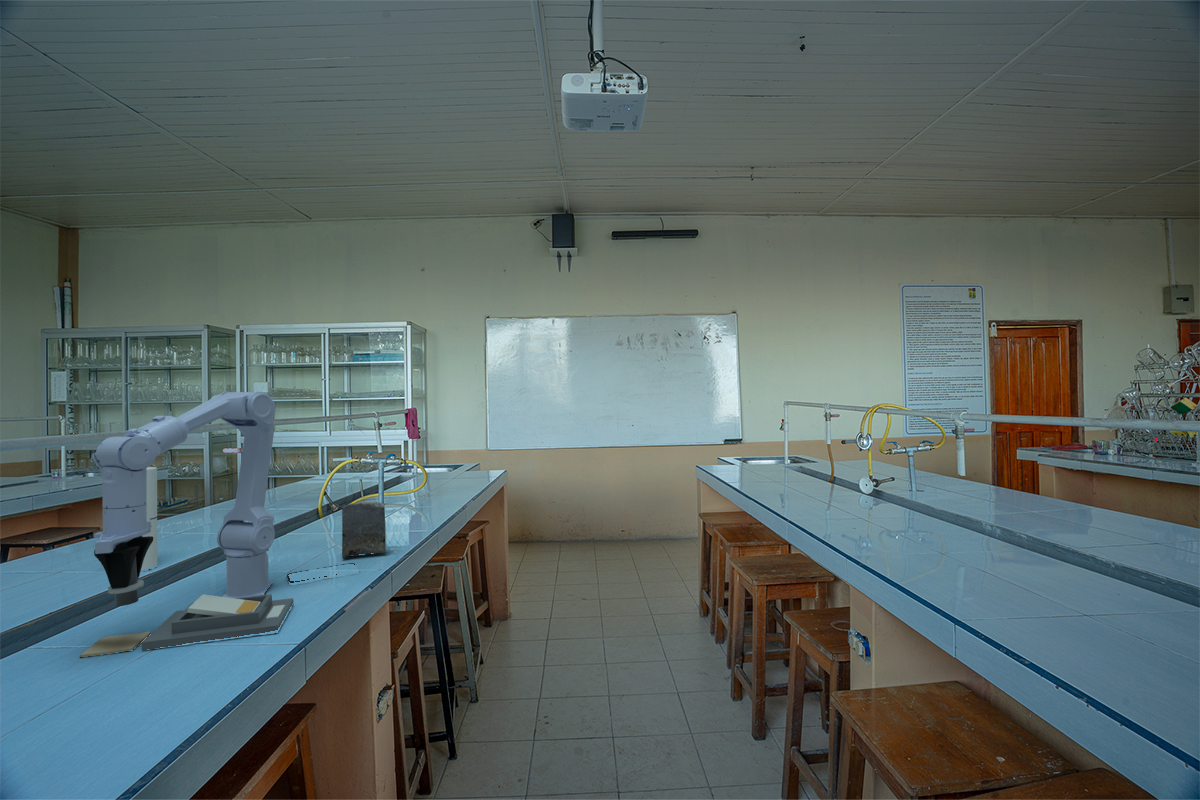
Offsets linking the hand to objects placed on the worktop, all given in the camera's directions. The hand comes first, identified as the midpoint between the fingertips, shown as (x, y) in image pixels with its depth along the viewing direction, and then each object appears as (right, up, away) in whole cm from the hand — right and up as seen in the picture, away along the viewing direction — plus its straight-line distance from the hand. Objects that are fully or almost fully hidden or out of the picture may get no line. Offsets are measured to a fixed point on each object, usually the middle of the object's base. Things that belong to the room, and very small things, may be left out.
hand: (125, 584), depth 93 cm
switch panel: (+12, -10, +7) cm, 18 cm away
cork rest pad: (-1, -10, 0) cm, 11 cm away
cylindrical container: (-32, -10, +40) cm, 53 cm away
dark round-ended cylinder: (0, -3, 0) cm, 3 cm away
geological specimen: (+19, -10, +51) cm, 56 cm away
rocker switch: (+12, -7, +7) cm, 16 cm away
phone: (+16, -11, +36) cm, 41 cm away
